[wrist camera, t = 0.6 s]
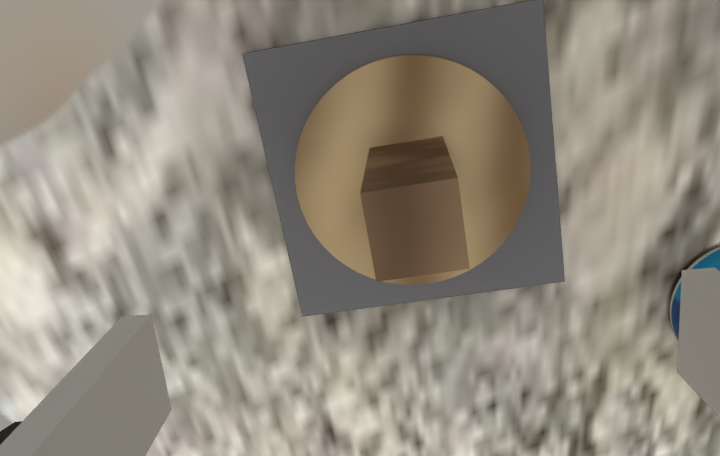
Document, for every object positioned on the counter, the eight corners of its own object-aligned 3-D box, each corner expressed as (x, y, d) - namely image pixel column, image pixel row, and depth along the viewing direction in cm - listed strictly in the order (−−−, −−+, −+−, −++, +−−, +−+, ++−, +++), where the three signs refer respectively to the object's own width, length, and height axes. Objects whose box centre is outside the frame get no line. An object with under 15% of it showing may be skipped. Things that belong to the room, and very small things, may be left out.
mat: (540, -2, 32) (542, -2, 32) (562, 277, 37) (564, 281, 37) (244, 53, 34) (242, 54, 33) (303, 312, 39) (302, 316, 39)
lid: (515, 34, 32) (564, 42, 23) (536, 261, 36) (585, 348, 27) (275, 77, 34) (227, 101, 24) (321, 291, 38) (296, 383, 28)
